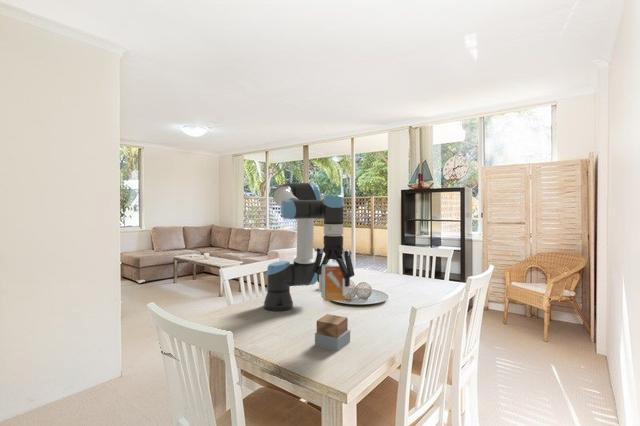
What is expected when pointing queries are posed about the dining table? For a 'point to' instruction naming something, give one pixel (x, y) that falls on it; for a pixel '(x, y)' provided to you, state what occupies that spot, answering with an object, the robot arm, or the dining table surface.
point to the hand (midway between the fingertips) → (333, 292)
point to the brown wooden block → (332, 325)
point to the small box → (332, 282)
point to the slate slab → (332, 341)
